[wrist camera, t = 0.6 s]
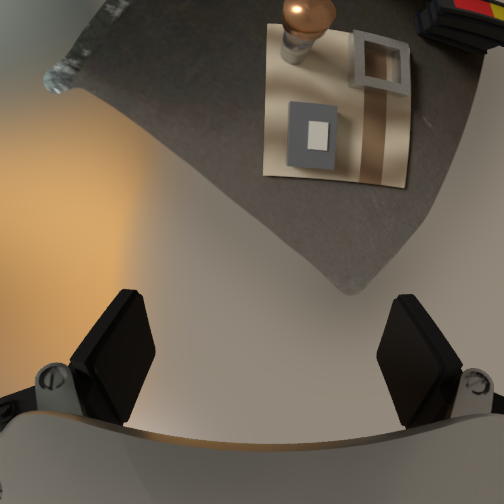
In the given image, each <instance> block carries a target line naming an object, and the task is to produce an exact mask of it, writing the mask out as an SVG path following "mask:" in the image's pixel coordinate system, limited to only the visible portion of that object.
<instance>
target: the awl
mask: <svg viewBox="0 0 504 504" xmlns="http://www.w3.org/2000/svg"><path fill="white" fill-rule="evenodd" d="M335 16H336V9H335V6H334V4H333V3H332V1H331V0H285V1H284V5H283V12H282V19H281V22H282V26H283V28H284V34H283V39H282V44H281V49H280V56H281V58H282V59H283V60H284V61H285V62H286V63H288V64H291V65H297V64H300V63H302V62H303V61H304V60H305V58H306V57H307V55H308V53H309V51H310V49H311V48H312V46H313V44H314V42H315V41H316V40H317V39H319V38H321V37H322V36H323V35H324V34H325V33H326V31H327V30H328V28H329V27H330V25H331V23H332V22H333V20H334V19H335Z"/></svg>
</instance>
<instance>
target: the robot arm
mask: <svg viewBox="0 0 504 504" xmlns="http://www.w3.org/2000/svg"><path fill="white" fill-rule="evenodd" d="M155 352H156V351H155V345H154V341H153V337H152V334H151V330H150V326H149V322H148V317H147V313H146V309H145V304H144V300H143V296H142V295H141V294H139V293H138V291H137V290H129V289H122V290H121V291H120V292H119V293H118V295H117V296H116V297H115V298H114V300H113V301H112V302H111V304H110V305H109V306H108V307H107V309H106V310H105V311H104V313H103V314H102V315H101V317H100V318H99V319H98V321H97V322H96V323H95V325H94V326H93V327H92V329H91V330H90V331H89V333H88V334H87V336H86V337H85V338H84V340H83V341H82V342H81V344H80V345H79V347H78V348H77V349H76V351H75V352H74V354H73V355H72V357H71V358H70V361H71V362H70V364H69V365H68V366H67V365H65V364H63V363H50V364H48V365H46V366H44V367H43V368H42V369H40V371H39V372H38V373H37V375H36V377H35V386H32V387H30V388H27V389H24V390H22V391H18V392H16V393H13V394H10V395H7V396H4V397H2V398H0V504H504V397H503V396H501V395H499V394H496V393H494V384H493V381H492V379H491V378H490V376H489V375H488V374H487V373H485V372H484V371H482V370H480V369H476V368H470V369H467V370H465V371H464V372H462V370H461V367H462V366H463V364H462V362H461V361H460V359H459V357H458V356H457V354H456V353H455V351H454V350H453V349H452V347H451V345H450V344H449V342H448V341H447V339H446V338H445V337H444V335H443V334H442V332H441V331H440V330H439V328H438V327H437V325H436V324H435V322H434V321H433V320H432V318H431V317H430V315H429V314H428V313H427V311H426V310H425V309H424V307H423V306H422V305H421V304H420V302H419V301H418V299H417V298H416V297H415V296H414V295H413V294H402V295H399V296H398V297H397V299H394V300H393V303H392V307H391V310H390V313H389V317H388V320H387V324H386V326H385V329H384V333H383V336H382V338H381V342H380V345H379V347H378V350H377V361H378V364H379V366H380V369H381V371H382V374H383V376H384V379H385V382H386V384H387V387H388V390H389V392H390V395H391V397H392V400H393V403H394V406H395V409H396V411H397V414H398V417H399V420H400V423H401V425H402V426H405V428H406V430H401V431H396V432H391V433H386V434H381V435H375V436H369V437H362V438H355V439H348V440H339V441H328V442H316V443H298V444H246V443H229V442H228V443H227V442H216V441H206V440H197V439H189V438H182V437H175V436H169V435H163V434H158V433H152V432H148V431H143V430H138V429H133V428H129V427H124V426H123V423H124V422H127V421H128V420H129V418H130V415H131V413H132V410H133V408H134V405H135V403H136V400H137V398H138V395H139V393H140V390H141V388H142V385H143V383H144V380H145V378H146V376H147V373H148V371H149V369H150V366H151V364H152V362H153V359H154V357H155Z"/></svg>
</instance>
